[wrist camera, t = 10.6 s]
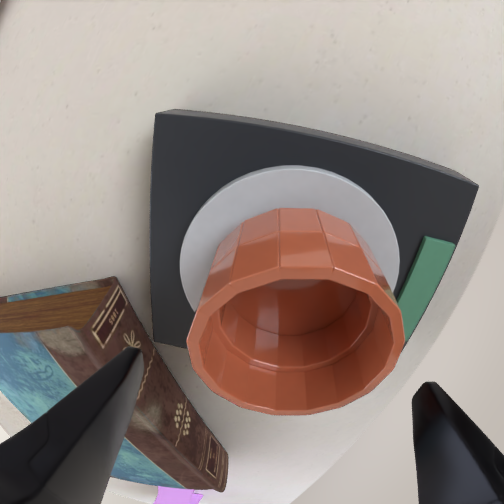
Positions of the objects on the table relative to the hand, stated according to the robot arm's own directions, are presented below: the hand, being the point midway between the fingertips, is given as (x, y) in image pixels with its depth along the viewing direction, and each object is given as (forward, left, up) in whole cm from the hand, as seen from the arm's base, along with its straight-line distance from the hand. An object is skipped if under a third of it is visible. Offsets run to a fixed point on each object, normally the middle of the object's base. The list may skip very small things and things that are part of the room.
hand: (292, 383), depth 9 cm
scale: (-1, 0, -8) cm, 8 cm away
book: (0, +22, -8) cm, 23 cm away
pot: (0, 0, -5) cm, 5 cm away
